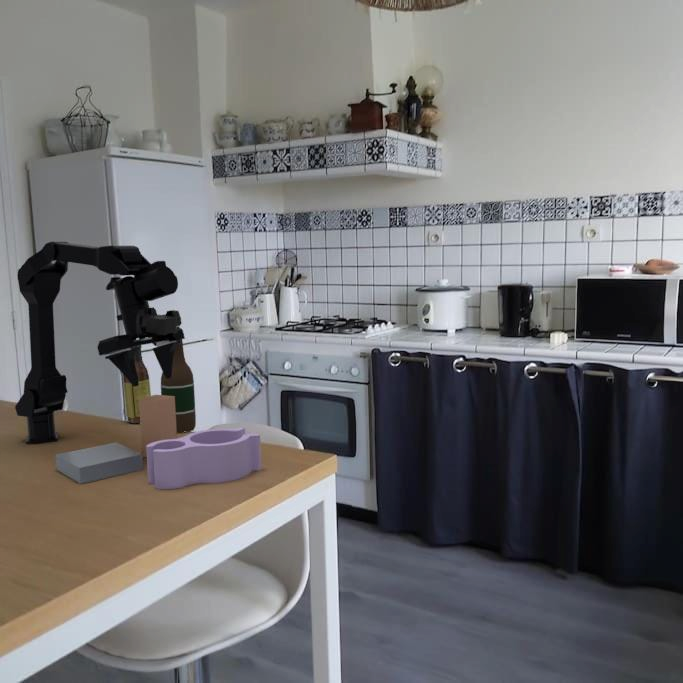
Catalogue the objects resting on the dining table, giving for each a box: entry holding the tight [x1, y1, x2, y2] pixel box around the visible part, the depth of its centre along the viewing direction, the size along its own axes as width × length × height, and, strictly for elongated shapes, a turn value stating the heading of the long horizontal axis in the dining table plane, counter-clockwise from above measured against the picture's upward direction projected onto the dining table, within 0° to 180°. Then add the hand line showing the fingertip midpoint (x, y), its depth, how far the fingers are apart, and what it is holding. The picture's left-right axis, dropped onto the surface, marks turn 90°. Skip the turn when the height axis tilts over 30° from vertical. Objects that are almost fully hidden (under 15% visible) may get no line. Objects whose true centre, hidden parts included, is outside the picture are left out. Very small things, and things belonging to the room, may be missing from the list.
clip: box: [146, 426, 262, 490], centre depth 128 cm, size 20×12×7 cm, turn 124°
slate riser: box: [55, 442, 144, 485], centre depth 132 cm, size 12×12×3 cm
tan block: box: [139, 394, 178, 458], centre depth 141 cm, size 5×5×12 cm
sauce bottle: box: [122, 345, 152, 424], centre depth 171 cm, size 6×6×20 cm
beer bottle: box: [160, 339, 197, 434], centre depth 161 cm, size 8×8×24 cm
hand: (153, 382), depth 138 cm, fingers open, 9 cm apart
